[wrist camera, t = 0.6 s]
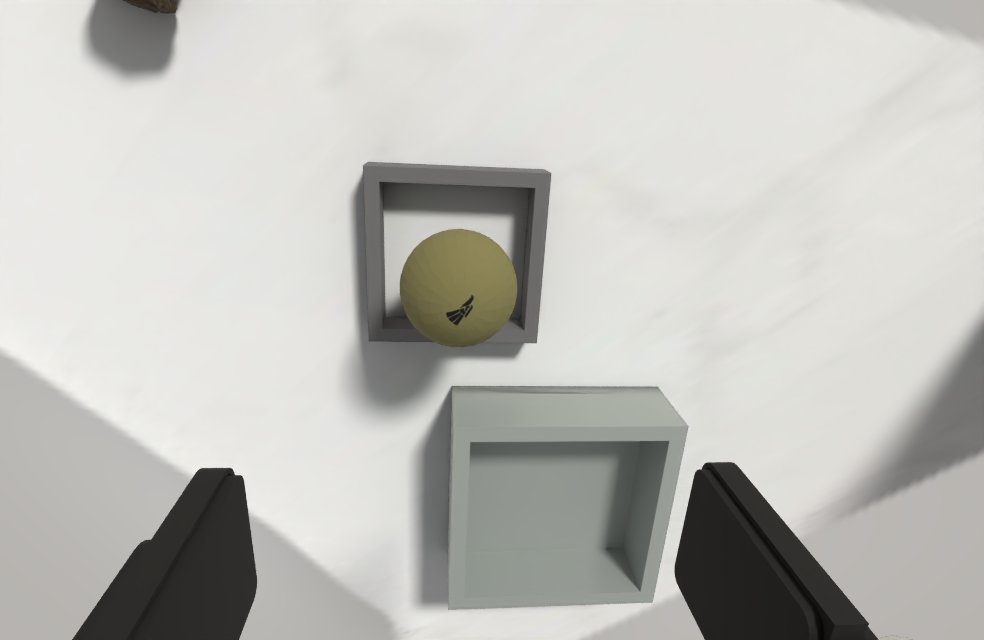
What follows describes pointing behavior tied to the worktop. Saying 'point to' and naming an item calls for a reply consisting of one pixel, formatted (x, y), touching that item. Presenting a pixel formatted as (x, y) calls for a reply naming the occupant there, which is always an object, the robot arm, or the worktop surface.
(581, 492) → the bin
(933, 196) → the worktop surface
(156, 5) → the hand tool
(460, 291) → the light bulb
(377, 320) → the bulb holder
